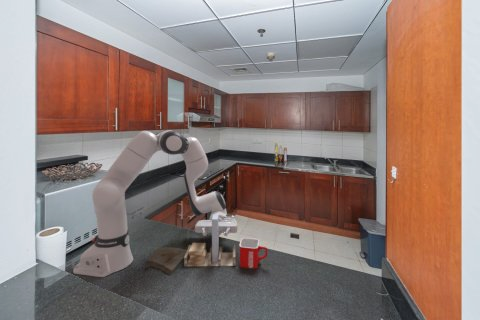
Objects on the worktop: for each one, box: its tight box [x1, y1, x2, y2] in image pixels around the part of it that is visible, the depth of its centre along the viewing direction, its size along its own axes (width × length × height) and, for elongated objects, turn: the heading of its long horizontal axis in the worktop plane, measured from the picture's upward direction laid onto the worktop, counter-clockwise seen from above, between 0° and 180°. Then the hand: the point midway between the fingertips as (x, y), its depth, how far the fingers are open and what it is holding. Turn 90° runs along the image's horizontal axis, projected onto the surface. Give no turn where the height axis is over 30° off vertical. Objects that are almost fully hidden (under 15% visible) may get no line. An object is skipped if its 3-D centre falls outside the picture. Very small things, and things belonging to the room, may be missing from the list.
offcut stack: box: [188, 242, 208, 265], centre depth 93 cm, size 7×8×6 cm
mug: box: [239, 237, 268, 269], centre depth 91 cm, size 12×8×11 cm
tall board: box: [211, 215, 220, 263], centre depth 93 cm, size 2×6×20 cm, turn 2°
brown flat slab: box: [145, 246, 187, 276], centre depth 92 cm, size 17×15×4 cm
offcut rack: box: [183, 244, 236, 267], centre depth 94 cm, size 22×10×6 cm, turn 92°
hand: (215, 234), depth 92 cm, fingers open, 8 cm apart
